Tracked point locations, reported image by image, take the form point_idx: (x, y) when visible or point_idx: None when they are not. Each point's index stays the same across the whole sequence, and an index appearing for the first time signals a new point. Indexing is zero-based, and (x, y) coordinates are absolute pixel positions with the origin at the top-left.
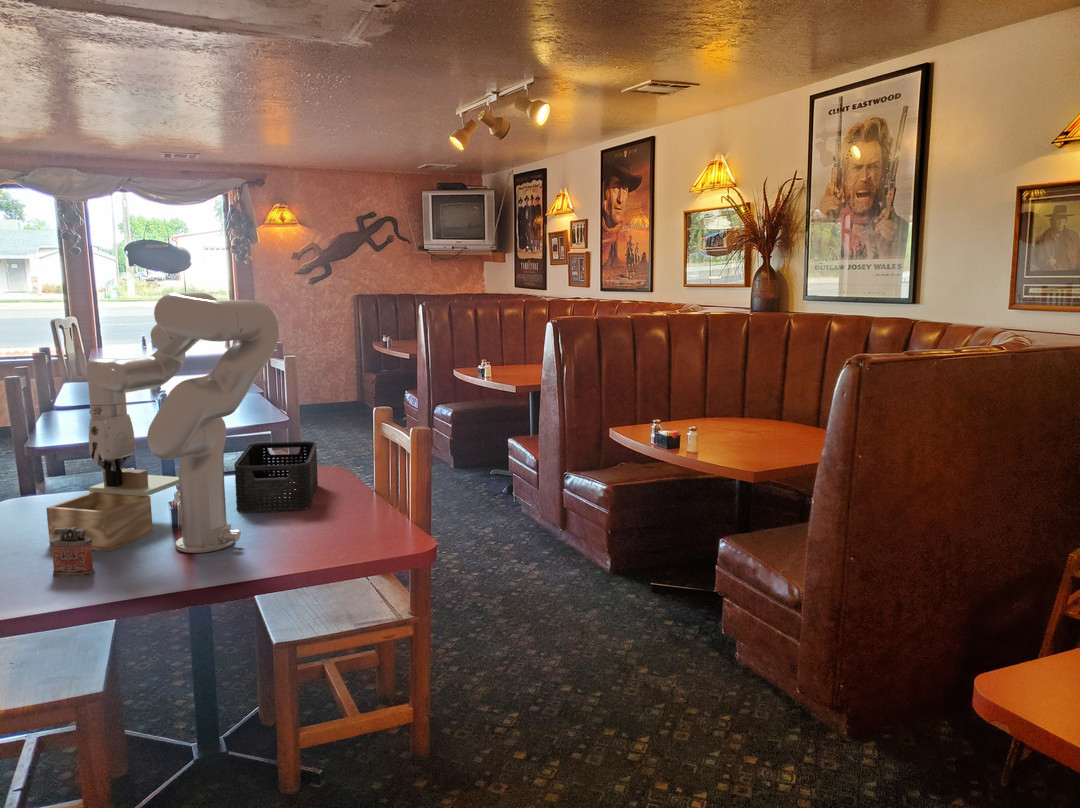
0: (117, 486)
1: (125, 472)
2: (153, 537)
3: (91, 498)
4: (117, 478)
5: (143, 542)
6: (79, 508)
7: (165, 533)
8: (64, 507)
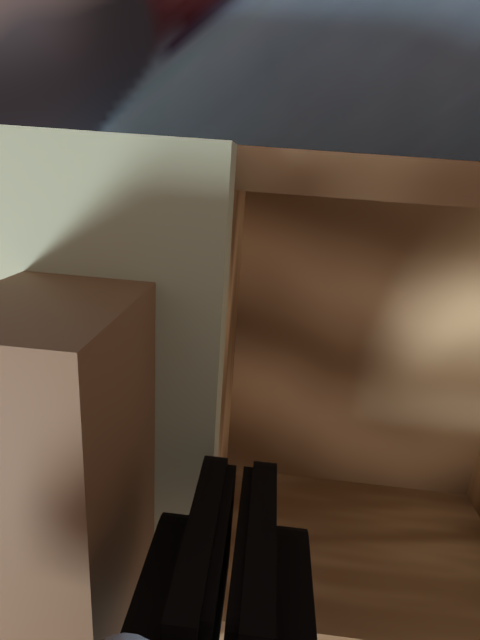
0: (275, 466)
1: (89, 556)
2: (315, 84)
3: (228, 592)
4: (273, 531)
5: (409, 83)
6: (331, 572)
7: (236, 58)
8: (460, 623)
